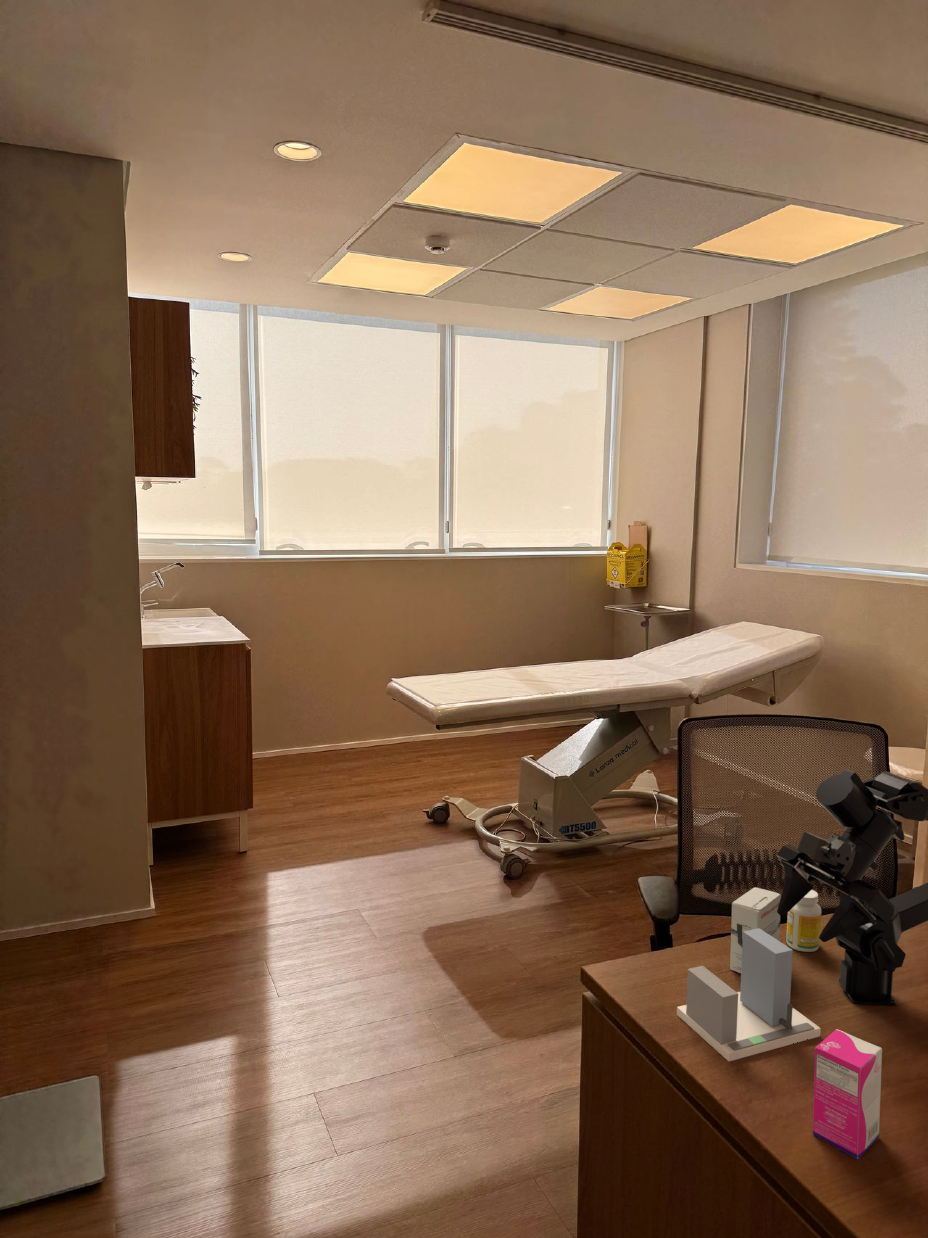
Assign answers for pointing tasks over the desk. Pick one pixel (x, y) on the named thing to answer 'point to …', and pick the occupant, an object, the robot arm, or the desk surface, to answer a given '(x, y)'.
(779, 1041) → the base
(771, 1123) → the desk surface
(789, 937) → the supplement bottle
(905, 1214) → the desk surface
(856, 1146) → the supplement box
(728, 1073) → the desk surface
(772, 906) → the ink box
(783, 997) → the block
